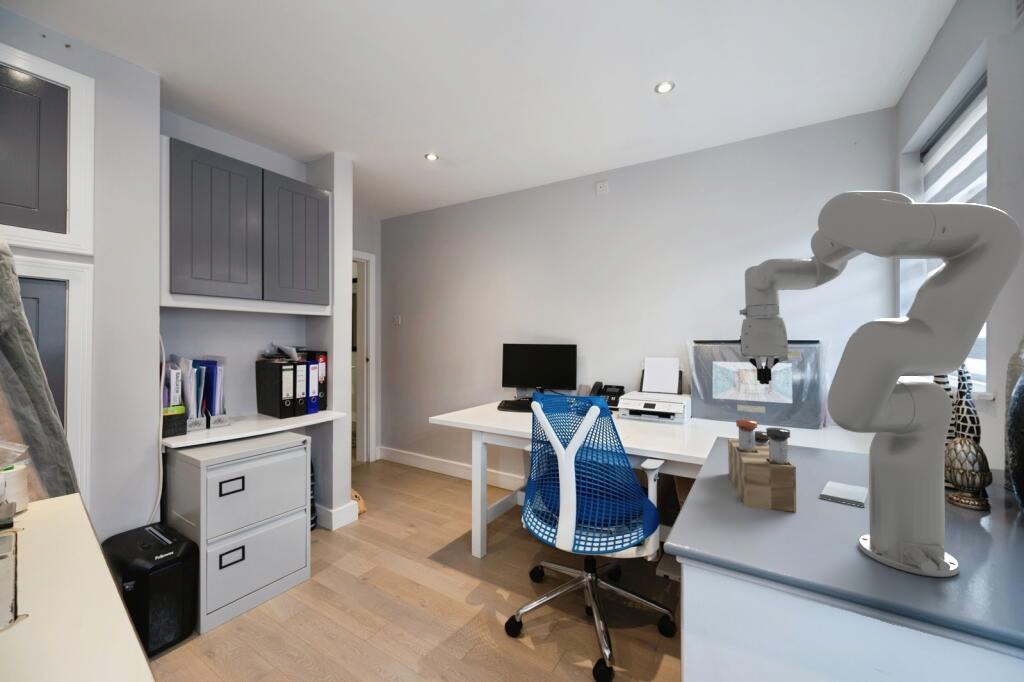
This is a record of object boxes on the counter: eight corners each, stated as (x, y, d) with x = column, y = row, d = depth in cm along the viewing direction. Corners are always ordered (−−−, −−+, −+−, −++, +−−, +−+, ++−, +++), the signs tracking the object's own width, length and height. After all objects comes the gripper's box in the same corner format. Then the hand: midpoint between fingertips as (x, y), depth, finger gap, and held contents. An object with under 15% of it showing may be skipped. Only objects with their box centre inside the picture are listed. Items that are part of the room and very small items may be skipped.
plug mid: (759, 471, 102) (758, 423, 102) (738, 469, 103) (738, 422, 103) (755, 465, 106) (754, 419, 106) (735, 464, 108) (734, 418, 108)
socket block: (796, 512, 91) (795, 466, 91) (745, 506, 94) (744, 462, 94) (769, 477, 114) (768, 440, 114) (728, 473, 117) (728, 438, 117)
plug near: (793, 485, 92) (792, 432, 92) (769, 483, 93) (769, 431, 93) (787, 479, 96) (786, 428, 96) (764, 477, 98) (764, 427, 98)
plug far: (772, 480, 109) (772, 435, 109) (753, 478, 110) (752, 434, 110) (768, 475, 113) (767, 431, 113) (749, 473, 115) (748, 430, 115)
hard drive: (864, 502, 93) (868, 487, 102) (819, 493, 99) (827, 480, 108) (864, 509, 93) (868, 494, 102) (819, 500, 99) (827, 486, 108)
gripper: (732, 313, 107) (734, 384, 106) (800, 310, 101) (802, 385, 101) (728, 315, 114) (729, 382, 113) (791, 313, 108) (793, 383, 108)
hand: (764, 383), depth 107 cm, fingers closed
